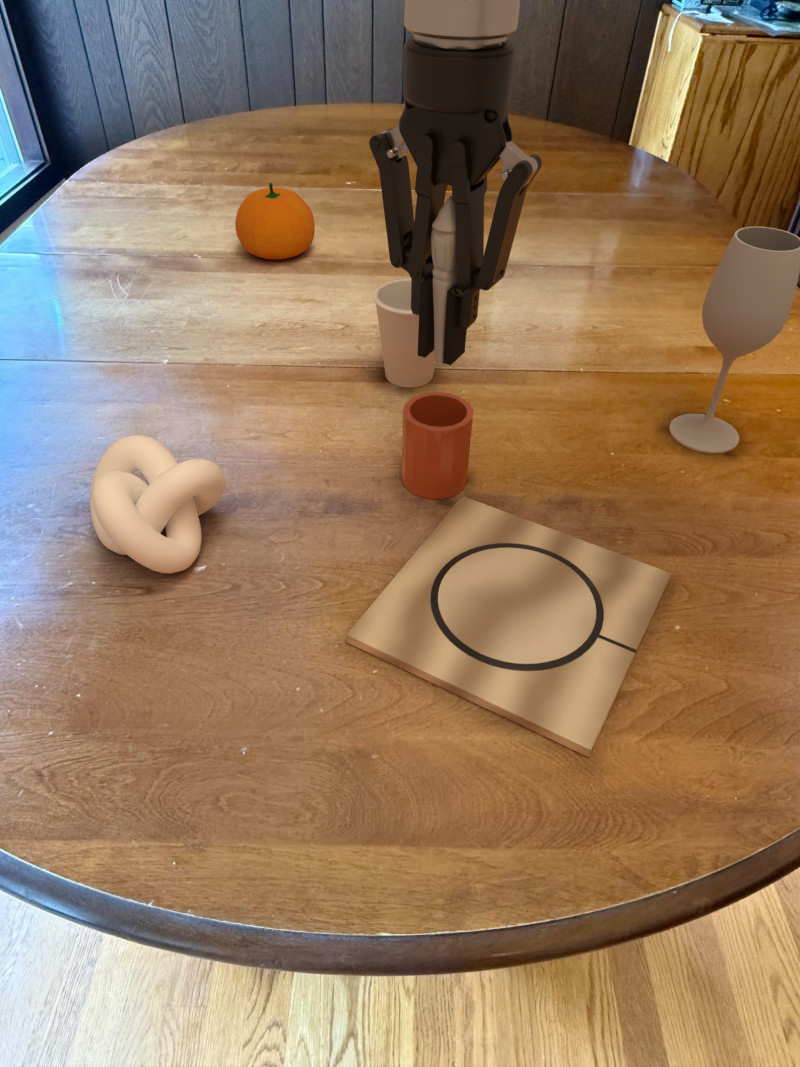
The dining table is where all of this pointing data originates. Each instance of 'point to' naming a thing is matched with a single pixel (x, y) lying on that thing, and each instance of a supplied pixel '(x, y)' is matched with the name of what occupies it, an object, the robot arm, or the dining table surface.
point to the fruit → (274, 223)
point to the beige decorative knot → (152, 502)
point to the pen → (443, 269)
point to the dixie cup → (401, 336)
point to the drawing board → (516, 620)
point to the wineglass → (742, 319)
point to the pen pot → (436, 444)
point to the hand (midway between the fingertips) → (441, 353)
